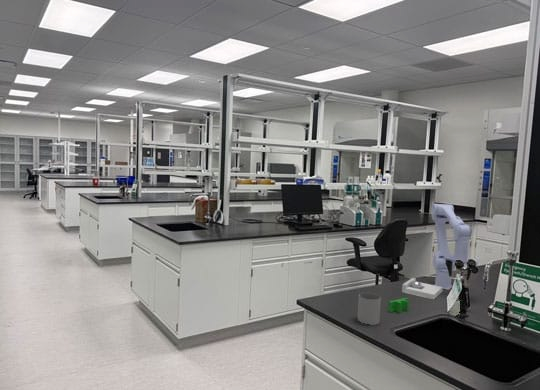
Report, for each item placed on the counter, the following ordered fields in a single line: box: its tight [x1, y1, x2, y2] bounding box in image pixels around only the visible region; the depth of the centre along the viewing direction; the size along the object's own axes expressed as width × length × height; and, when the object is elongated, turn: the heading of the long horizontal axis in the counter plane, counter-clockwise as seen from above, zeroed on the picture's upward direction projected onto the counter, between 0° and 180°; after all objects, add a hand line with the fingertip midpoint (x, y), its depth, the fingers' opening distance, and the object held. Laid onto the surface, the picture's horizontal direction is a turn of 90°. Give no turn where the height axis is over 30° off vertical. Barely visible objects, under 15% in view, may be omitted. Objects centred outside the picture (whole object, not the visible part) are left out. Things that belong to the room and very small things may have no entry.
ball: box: [411, 280, 422, 289], centre depth 190 cm, size 5×5×5 cm
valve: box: [449, 298, 469, 317], centre depth 162 cm, size 7×7×12 cm
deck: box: [401, 277, 444, 301], centre depth 189 cm, size 16×15×4 cm
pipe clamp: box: [387, 297, 410, 314], centre depth 162 cm, size 11×4×5 cm, turn 122°
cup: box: [357, 292, 382, 326], centre depth 149 cm, size 8×8×10 cm
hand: (458, 277), depth 181 cm, fingers open, 7 cm apart
